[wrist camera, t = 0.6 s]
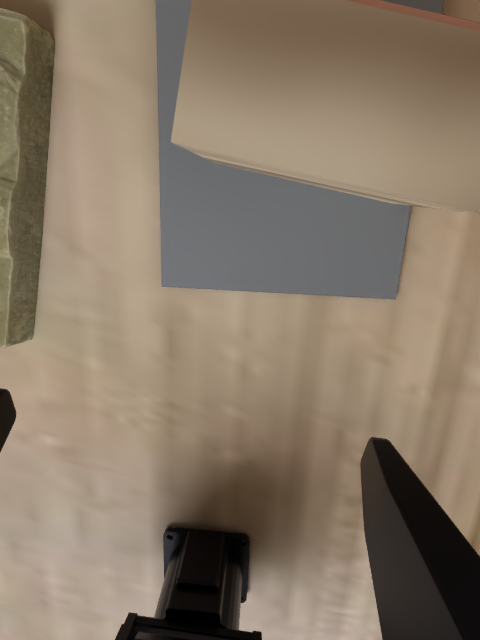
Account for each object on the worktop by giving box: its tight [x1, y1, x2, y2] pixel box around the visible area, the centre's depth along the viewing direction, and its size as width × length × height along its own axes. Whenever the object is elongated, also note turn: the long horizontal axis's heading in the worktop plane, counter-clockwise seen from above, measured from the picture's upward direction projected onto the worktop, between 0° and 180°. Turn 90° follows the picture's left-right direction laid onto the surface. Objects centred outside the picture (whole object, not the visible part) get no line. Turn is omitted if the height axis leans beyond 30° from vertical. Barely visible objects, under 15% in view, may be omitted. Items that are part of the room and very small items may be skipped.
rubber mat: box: [156, 0, 444, 299], centre depth 21 cm, size 22×14×1 cm, turn 178°
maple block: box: [171, 0, 480, 213], centre depth 17 cm, size 5×10×10 cm, turn 78°
